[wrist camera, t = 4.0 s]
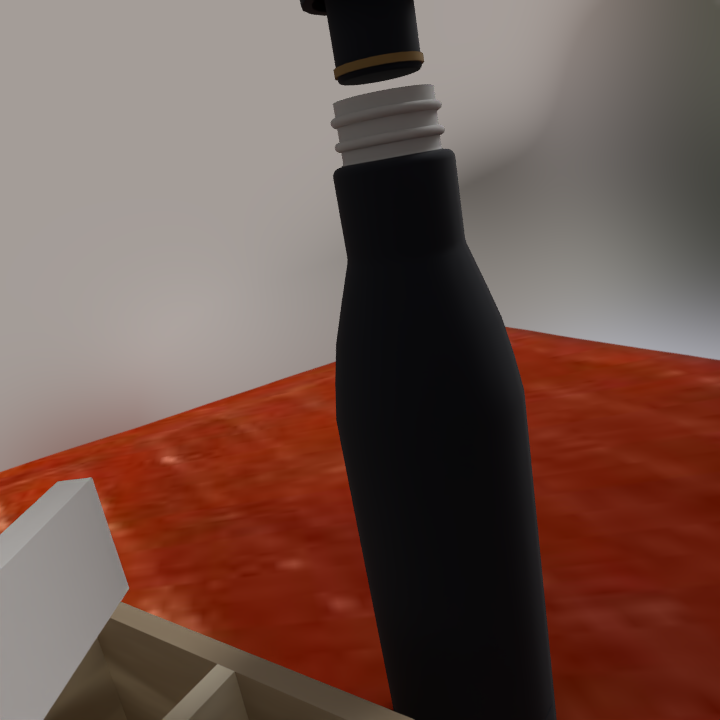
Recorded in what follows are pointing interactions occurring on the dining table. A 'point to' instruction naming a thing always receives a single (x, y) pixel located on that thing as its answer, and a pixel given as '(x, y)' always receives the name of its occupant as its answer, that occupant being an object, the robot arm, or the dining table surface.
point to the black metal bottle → (429, 402)
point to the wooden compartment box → (193, 680)
